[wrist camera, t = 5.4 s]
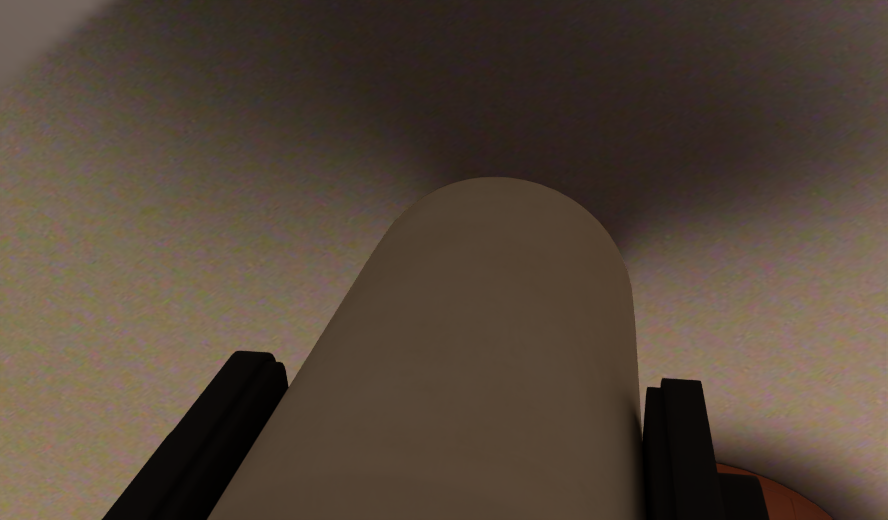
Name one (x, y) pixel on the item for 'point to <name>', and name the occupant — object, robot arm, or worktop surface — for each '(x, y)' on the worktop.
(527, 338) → the candle
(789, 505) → the pot cup
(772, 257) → the worktop surface
